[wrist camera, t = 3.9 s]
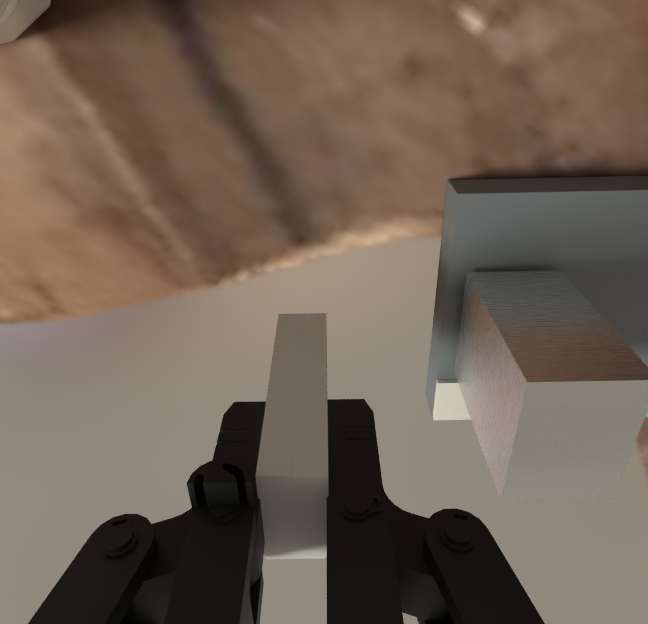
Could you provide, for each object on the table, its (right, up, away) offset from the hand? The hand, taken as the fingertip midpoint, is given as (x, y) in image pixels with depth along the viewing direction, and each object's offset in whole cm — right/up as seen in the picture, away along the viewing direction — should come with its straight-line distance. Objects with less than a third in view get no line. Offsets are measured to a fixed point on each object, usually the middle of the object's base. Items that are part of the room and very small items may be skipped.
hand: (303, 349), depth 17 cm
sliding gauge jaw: (+7, 0, +2) cm, 7 cm away
